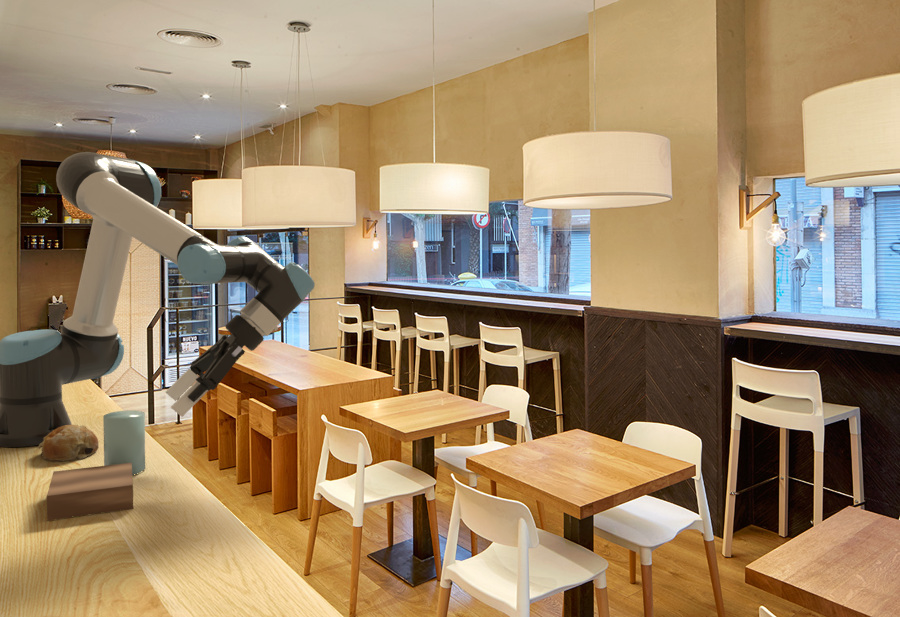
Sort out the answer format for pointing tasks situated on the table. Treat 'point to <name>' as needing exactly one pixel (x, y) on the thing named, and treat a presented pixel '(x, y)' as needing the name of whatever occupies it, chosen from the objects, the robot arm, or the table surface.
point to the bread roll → (69, 443)
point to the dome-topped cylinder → (125, 439)
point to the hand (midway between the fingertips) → (173, 404)
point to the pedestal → (90, 491)
